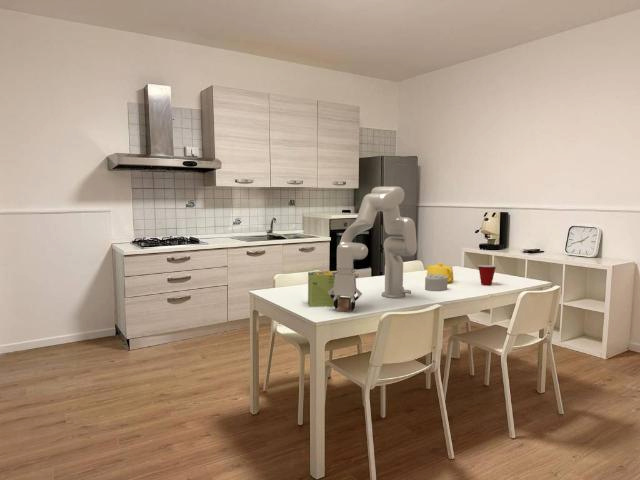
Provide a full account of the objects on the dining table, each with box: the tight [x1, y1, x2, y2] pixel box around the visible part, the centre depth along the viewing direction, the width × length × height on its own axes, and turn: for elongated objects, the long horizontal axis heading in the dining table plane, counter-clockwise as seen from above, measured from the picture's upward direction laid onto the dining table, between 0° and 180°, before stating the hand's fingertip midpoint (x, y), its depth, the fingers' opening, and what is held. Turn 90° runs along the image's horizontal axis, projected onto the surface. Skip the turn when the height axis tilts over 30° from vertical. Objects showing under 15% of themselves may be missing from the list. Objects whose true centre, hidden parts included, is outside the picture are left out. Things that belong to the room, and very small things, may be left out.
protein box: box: [307, 270, 341, 307], centre depth 216 cm, size 10×15×16 cm
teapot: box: [425, 262, 454, 284], centre depth 277 cm, size 20×12×12 cm, turn 34°
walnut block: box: [337, 296, 352, 314], centre depth 203 cm, size 5×5×6 cm
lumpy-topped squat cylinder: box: [424, 274, 448, 292], centre depth 253 cm, size 10×13×9 cm
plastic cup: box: [477, 264, 497, 286], centre depth 267 cm, size 11×11×12 cm
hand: (344, 309), depth 203 cm, fingers open, 7 cm apart
